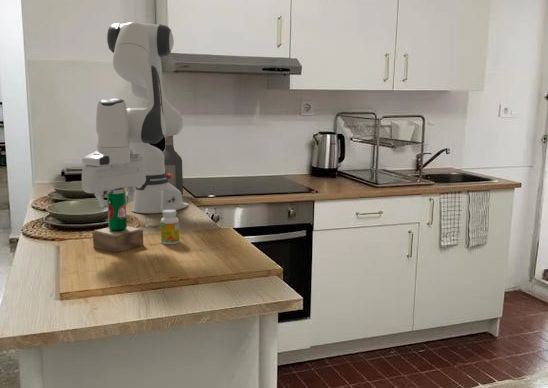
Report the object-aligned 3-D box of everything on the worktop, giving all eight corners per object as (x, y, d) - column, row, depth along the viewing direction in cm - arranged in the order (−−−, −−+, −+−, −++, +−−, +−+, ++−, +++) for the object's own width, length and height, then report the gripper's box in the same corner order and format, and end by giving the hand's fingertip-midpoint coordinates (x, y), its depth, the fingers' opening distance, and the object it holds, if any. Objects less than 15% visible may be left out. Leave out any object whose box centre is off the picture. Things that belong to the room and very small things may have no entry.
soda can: (121, 232, 158) (119, 190, 156) (105, 231, 160) (103, 190, 157) (130, 228, 163) (128, 187, 161) (114, 227, 164) (112, 187, 162)
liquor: (173, 198, 238) (171, 128, 233) (156, 197, 242) (153, 128, 237) (185, 195, 247) (183, 127, 241) (168, 194, 250) (166, 127, 245)
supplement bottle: (157, 243, 165) (156, 211, 164) (167, 239, 170) (166, 208, 169) (173, 245, 164) (172, 213, 162) (182, 241, 169) (181, 209, 167)
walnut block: (121, 240, 169) (120, 224, 168) (143, 245, 164) (142, 228, 163) (93, 247, 161) (92, 230, 160) (116, 252, 156) (115, 235, 155)
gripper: (135, 152, 168) (137, 197, 171) (76, 159, 152) (79, 208, 154) (149, 153, 165) (151, 199, 167) (91, 160, 148) (94, 211, 151)
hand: (116, 204), depth 160 cm, fingers open, 8 cm apart
